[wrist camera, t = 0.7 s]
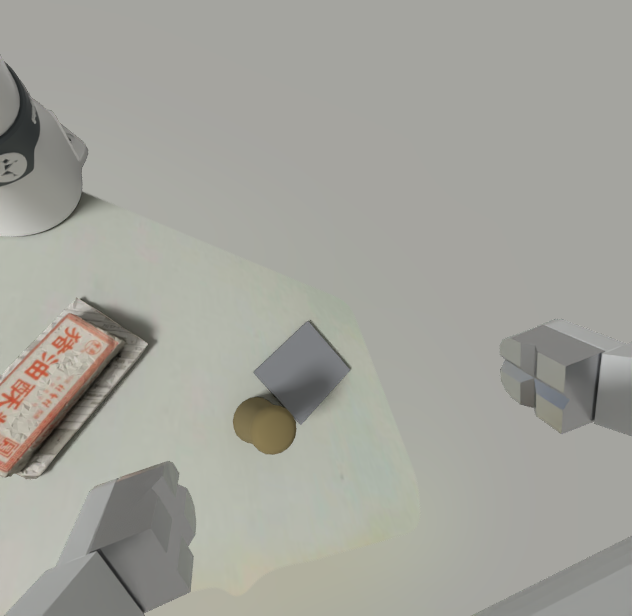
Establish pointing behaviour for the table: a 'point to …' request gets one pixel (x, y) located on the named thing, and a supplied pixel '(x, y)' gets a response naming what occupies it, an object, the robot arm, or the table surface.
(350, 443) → the table surface
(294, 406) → the mat
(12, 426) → the packaged product
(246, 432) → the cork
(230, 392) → the table surface
